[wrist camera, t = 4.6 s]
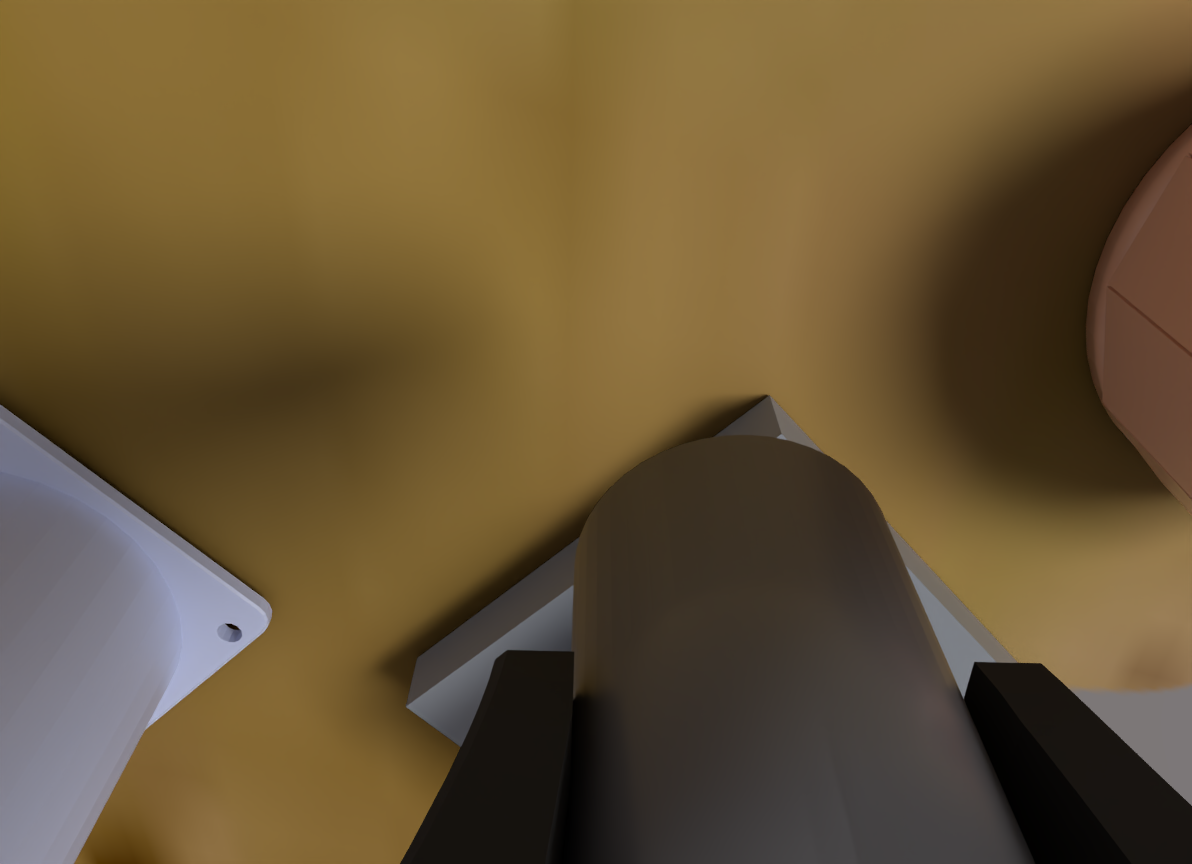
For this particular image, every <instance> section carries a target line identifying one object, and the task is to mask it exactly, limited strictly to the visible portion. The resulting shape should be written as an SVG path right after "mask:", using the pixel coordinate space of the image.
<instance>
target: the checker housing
mask: <svg viewBox="0 0 1192 864" xmlns="http://www.w3.org/2000/svg"><path fill="white" fill-rule="evenodd" d="M725 435H756V436H769V437H774V438H779V439H784V440H789V441H793V442H796V443H799V444H802V445H805V446H808V447H811V448H813V449H815V450H817V451H819V452H821V453H823V452H822V451H821V450H820V449H819V448H818V447H817V446H816V445H815V444H814V443H813V441H812V440H811V439H810V438H809V437H808V436H807V435H806V434H805V433H804V432H803V431H802V430H801V429H800V427H799V426H798V425H797V424H796V423H795V422H794V421H793V420H792V419H791V418H790V417H789V416H788V414H787V413H786V412H785V411H784V410H783V409H782V408H781V407H780V406H779V405H778V404H777V403H776V402H775V400H774V399H773V398H772V397H771V396H770V395H769V396H768V397H766V398H765V399H764V400H762V401H761V402H760V403H758V404H757V405H756V406H754V407H753V408H752V409H750V410H749V411H748V412H746V413H745V414H744V415H742V416H741V417H740V418H738V419H737V420H736V421H734V422H733V423H732V424H730V425H729V426H728V427H726V428H725V429H724V430H722V431H721V432H720V433H718V434H717V435H716V436H714V437H718V436H725ZM823 454H824V453H823ZM886 522H887V521H886ZM887 525H888V527H889V529H890V531H891V534H892V536H893V538H894V541H895V543H896V545H897V548H898V550H899V552H900V554H901V557H902V559H903V561H904V564H905V566H906V568H907V570H908V573H909V575H910V577H911V580H912V582H913V584H914V586H915V589H916V591H917V593H918V596H919V598H920V600H921V602H922V605H923V607H924V609H925V612H926V614H927V616H928V619H929V621H930V623H931V625H932V628H933V630H934V632H935V635H936V637H937V639H938V641H939V644H940V646H941V648H942V651H943V653H944V655H945V657H946V660H947V662H948V664H949V667H950V669H951V671H952V673H953V676H954V678H955V680H956V683H957V685H958V687H959V690H960V692H961V694H962V696H963V699H964V696H965V692H966V689H967V685H968V682H969V678H970V675H971V671H972V668H973V664H974V662H1001V663H1018V662H1017V661H1016V660H1015V659H1014V658H1013V657H1012V656H1011V655H1010V654H1009V653H1008V652H1007V651H1006V649H1005V648H1004V647H1003V646H1002V645H1001V644H1000V643H999V642H998V641H997V640H996V639H995V638H994V637H993V635H992V634H991V633H990V632H989V631H988V630H987V629H986V628H985V627H984V626H983V625H982V624H981V623H980V621H979V620H978V619H977V618H976V617H975V616H974V615H973V614H972V613H971V612H970V611H969V610H968V608H967V607H966V606H965V605H964V604H963V603H962V602H961V601H960V600H959V599H958V598H957V597H956V596H955V594H954V593H953V592H952V591H951V590H950V589H949V588H948V587H947V586H946V585H945V584H944V583H943V582H942V580H941V579H940V578H939V577H938V576H937V575H936V574H935V573H934V572H933V571H932V570H931V569H930V568H929V566H928V565H927V564H926V563H925V562H924V561H923V560H922V559H921V558H920V557H919V556H918V555H917V554H916V552H915V551H914V550H913V549H912V548H911V547H910V546H909V545H908V544H907V543H906V542H905V541H904V540H903V538H902V537H901V536H900V535H899V534H898V533H897V532H896V531H895V530H894V529H893V528H892V527H891V526H890V524H889V523H888V522H887ZM579 538H580V537H579ZM579 538H577V539H576V540H575V541H573V542H572V543H571V544H569V545H568V546H567V547H565V548H564V549H563V550H561V551H560V552H559V553H557V554H556V555H555V556H553V557H552V558H551V559H549V560H548V561H547V562H545V563H544V564H543V565H541V566H540V567H539V568H537V569H536V570H535V571H533V572H532V573H531V574H529V575H528V576H526V577H525V578H524V579H522V580H521V581H520V582H518V583H517V584H516V585H514V586H513V587H512V588H510V589H509V590H508V591H506V592H505V593H504V594H502V595H501V596H500V597H498V598H497V599H496V600H494V601H493V602H492V603H490V604H489V605H488V606H486V607H485V608H484V609H482V610H481V611H480V612H478V613H477V614H476V615H474V616H473V617H472V618H470V619H469V620H468V621H466V622H465V623H463V624H462V625H461V626H459V627H458V628H457V629H455V630H454V631H453V632H451V633H450V634H449V635H447V636H446V637H445V638H443V639H442V640H441V641H439V642H438V643H437V644H435V645H434V646H433V647H431V648H430V649H429V650H427V651H426V652H425V653H423V654H422V655H421V656H419V657H418V658H417V661H416V665H415V670H414V674H413V678H412V682H411V687H410V691H409V695H408V699H407V704H406V707H407V708H408V709H410V710H411V711H412V712H414V713H415V714H416V715H418V716H419V717H421V718H422V719H423V720H425V721H426V722H427V723H429V724H430V725H431V726H433V727H434V728H436V729H437V730H438V731H440V732H441V733H442V734H444V735H445V736H446V737H448V738H449V739H451V740H452V741H453V742H455V743H456V744H457V745H459V746H460V747H461V746H462V744H463V742H464V739H465V737H466V735H467V733H468V731H469V728H470V726H471V724H472V722H473V719H474V717H475V715H476V712H477V710H478V707H479V705H480V702H481V700H482V697H483V694H484V692H485V689H486V686H487V684H488V681H489V678H490V674H491V671H492V668H493V664H494V661H495V659H496V658H497V657H499V656H500V655H501V654H503V653H504V652H505V651H507V650H534V651H571V641H572V614H573V588H574V566H575V556H576V549H577V545H578V542H579Z"/></svg>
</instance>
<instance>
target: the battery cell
mask: <svg viewBox="0 0 1192 864" xmlns="http://www.w3.org/2000/svg"><path fill="white" fill-rule="evenodd" d="M571 651H573V652H574V685H573V719H572V749H571V778H570V795H569V804H568V813H567V822H566V833H565V846H564V858H563V864H1035V861H1034V859H1033V857H1032V854H1031V852H1030V850H1029V848H1028V845H1027V843H1026V841H1025V838H1024V836H1023V834H1022V832H1021V829H1020V827H1019V825H1018V822H1017V820H1016V818H1015V816H1014V813H1013V811H1012V809H1011V806H1010V804H1009V802H1008V799H1007V797H1006V795H1005V793H1004V790H1003V788H1002V786H1001V783H1000V781H999V779H998V777H997V774H996V772H995V770H994V767H993V765H992V763H991V761H990V758H989V756H988V754H987V751H986V749H985V747H984V745H983V742H982V740H981V738H980V735H979V733H978V731H977V728H976V726H975V724H974V722H973V719H972V717H971V715H970V712H969V710H968V708H967V706H966V703H965V701H964V699H963V696H962V694H961V692H960V690H959V687H958V685H957V683H956V680H955V678H954V676H953V673H952V671H951V669H950V667H949V664H948V662H947V660H946V657H945V655H944V653H943V651H942V648H941V646H940V644H939V641H938V639H937V637H936V635H935V632H934V630H933V628H932V625H931V623H930V621H929V619H928V616H927V614H926V612H925V609H924V607H923V605H922V602H921V600H920V598H919V596H918V593H917V591H916V589H915V586H914V584H913V582H912V580H911V577H910V575H909V573H908V570H907V568H906V566H905V564H904V561H903V559H902V557H901V554H900V552H899V550H898V548H897V545H896V543H895V541H894V538H893V536H892V534H891V531H890V529H889V527H888V525H887V522H886V520H885V518H884V515H883V513H882V511H881V509H880V507H879V505H878V504H877V502H876V500H875V499H874V497H873V495H872V494H871V492H870V491H869V490H868V489H867V488H866V486H865V485H864V484H863V483H862V482H861V480H860V479H859V478H857V477H856V476H855V475H854V474H853V473H852V472H851V471H850V470H848V469H847V468H846V467H845V466H843V465H842V464H840V463H839V462H837V461H836V460H834V459H833V458H831V457H830V456H828V455H825V454H823V453H821V452H819V451H817V450H815V449H813V448H811V447H808V446H805V445H802V444H799V443H796V442H793V441H789V440H784V439H779V438H774V437H769V436H756V435H725V436H718V437H711V438H705V439H700V440H696V441H692V442H689V443H685V444H681V445H679V446H676V447H673V448H671V449H668V450H666V451H663V452H661V453H659V454H657V455H655V456H653V457H651V458H649V459H648V460H646V461H644V462H642V463H640V464H639V465H638V466H636V467H635V468H633V469H632V470H630V471H629V472H628V473H626V474H625V475H624V476H622V477H621V478H620V479H619V480H618V481H617V482H616V483H615V484H614V485H613V486H611V487H610V488H609V490H608V491H607V492H606V493H605V494H604V495H603V497H602V498H601V499H600V500H599V501H598V503H597V504H596V506H595V507H594V509H593V510H592V512H591V514H590V515H589V517H588V518H587V521H586V523H585V525H584V527H583V530H582V532H581V534H580V538H579V542H578V545H577V549H576V556H575V566H574V588H573V614H572V641H571Z"/></svg>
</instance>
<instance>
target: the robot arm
mask: <svg viewBox="0 0 1192 864" xmlns="http://www.w3.org/2000/svg"><path fill="white" fill-rule="evenodd" d="M271 618H272V609H271V607H270V604H269V603H268V602H267V601H266V600H265V599H264V598H263V597H261V596H260V595H259V594H257V593H256V592H255V591H253V590H252V589H251V588H249V587H248V586H246V585H245V584H244V583H242V582H241V581H240V580H238V579H237V578H236V577H234V576H233V575H232V574H230V573H229V572H227V571H226V570H225V569H223V568H222V567H221V566H219V565H218V564H217V563H215V562H214V561H212V560H211V559H210V558H208V557H207V556H206V555H204V554H203V553H202V552H200V551H199V550H198V549H196V548H195V547H193V546H192V545H191V544H189V543H188V542H187V541H185V540H184V539H183V538H181V537H180V536H178V535H177V534H176V533H174V532H173V531H172V530H170V529H169V528H168V527H166V526H165V525H164V524H162V523H161V522H159V521H158V520H157V519H155V518H154V517H153V516H151V515H150V514H149V513H147V512H146V511H144V510H143V509H142V508H140V507H139V506H138V505H136V504H135V503H134V502H132V501H131V500H130V499H128V498H127V497H125V496H124V495H123V494H121V493H120V492H119V491H117V490H116V489H115V488H113V487H112V486H110V485H109V484H108V483H106V482H105V481H104V480H102V479H101V478H100V477H98V476H97V475H96V474H94V473H93V472H91V471H90V470H89V469H87V468H86V467H85V466H83V465H82V464H81V463H79V462H78V461H76V460H75V459H74V458H72V457H71V456H70V455H68V454H67V453H66V452H64V451H63V450H62V449H60V448H59V447H57V446H56V445H55V444H53V443H52V442H51V441H49V440H48V439H47V438H45V437H44V436H42V435H41V434H40V433H38V432H37V431H36V430H34V429H33V428H32V427H30V426H29V425H28V424H26V423H25V422H23V421H22V420H21V419H19V418H18V417H17V416H15V415H14V414H13V413H11V412H10V411H8V410H7V409H6V408H4V407H3V406H2V405H0V864H74V863H75V861H76V859H77V857H78V855H79V853H80V851H81V849H82V847H83V846H84V844H85V842H86V840H87V838H88V836H89V834H90V832H91V830H92V829H93V827H94V825H95V823H96V821H97V819H98V817H99V815H100V813H101V812H102V810H103V808H104V806H105V804H106V802H107V800H108V798H109V797H110V795H111V793H112V791H113V789H114V787H115V785H116V783H117V781H118V780H119V778H120V776H121V774H122V772H123V770H124V768H125V766H126V764H127V763H128V761H129V759H130V757H131V755H132V753H133V751H134V749H135V748H136V746H137V744H138V742H139V740H140V738H141V736H142V734H143V732H144V731H145V730H146V729H147V728H148V727H149V726H150V725H152V724H153V723H154V722H155V721H156V720H158V719H159V718H160V717H161V716H163V715H164V714H165V713H166V712H167V711H169V710H170V709H171V708H172V707H173V706H175V705H176V704H177V703H178V702H180V701H181V700H182V699H183V698H184V697H186V696H187V695H188V694H189V693H191V692H192V691H193V690H194V689H195V688H197V687H198V686H199V685H200V684H201V683H203V682H204V681H205V680H206V679H208V678H209V677H210V676H211V675H212V674H214V673H215V672H216V671H217V670H219V669H220V668H221V667H222V666H223V665H225V664H226V663H227V662H228V661H229V660H231V659H232V658H233V657H234V656H236V655H237V654H238V653H239V652H240V651H242V650H243V649H244V648H245V647H246V646H248V645H249V644H250V643H251V642H253V641H254V640H255V639H256V638H257V637H259V636H260V635H261V634H262V633H263V632H264V631H265V630H266V628H267V627H268V625H269V623H270V620H271ZM225 623H227V624H233V625H235V626H237V627H238V628H239V629H240V630H234V629H231V628H229V627H228V626H227V625H226V624H225ZM573 685H574V652H573V651H534V650H507V651H505V652H504V653H503V654H501V655H500V656H499V657H497V658H496V659H495V661H494V664H493V668H492V671H491V674H490V678H489V681H488V684H487V686H486V689H485V692H484V694H483V697H482V700H481V702H480V705H479V707H478V710H477V712H476V715H475V717H474V719H473V722H472V724H471V726H470V728H469V731H468V733H467V735H466V737H465V739H464V742H463V744H462V746H461V748H460V750H459V752H458V754H457V756H456V759H455V761H454V763H453V765H452V767H451V769H450V771H449V773H448V775H447V777H446V779H445V781H444V783H443V785H442V787H441V789H440V790H439V792H438V794H437V796H436V798H435V800H434V802H433V804H432V806H431V808H430V809H429V811H428V813H427V815H426V817H425V819H424V821H423V823H422V825H421V826H420V828H419V830H418V832H417V834H416V836H415V838H414V840H413V842H412V843H411V845H410V847H409V849H408V851H407V852H406V854H405V856H404V858H403V859H402V861H401V863H400V864H563V858H564V846H565V833H566V822H567V813H568V804H569V795H570V778H571V749H572V719H573ZM964 701H965V703H966V706H967V708H968V710H969V712H970V715H971V717H972V719H973V722H974V724H975V726H976V728H977V731H978V733H979V735H980V738H981V740H982V742H983V745H984V747H985V749H986V751H987V754H988V756H989V758H990V761H991V763H992V765H993V767H994V770H995V772H996V774H997V777H998V779H999V781H1000V783H1001V786H1002V788H1003V790H1004V793H1005V795H1006V797H1007V799H1008V802H1009V804H1010V806H1011V809H1012V811H1013V813H1014V816H1015V818H1016V820H1017V822H1018V825H1019V827H1020V829H1021V832H1022V834H1023V836H1024V838H1025V841H1026V843H1027V845H1028V848H1029V850H1030V852H1031V854H1032V857H1033V859H1034V861H1035V864H1192V806H1191V805H1190V804H1189V803H1188V802H1187V801H1186V800H1185V799H1184V798H1183V797H1182V796H1181V795H1180V794H1179V793H1178V792H1176V791H1175V790H1174V789H1173V788H1172V787H1171V786H1170V785H1169V784H1168V783H1167V782H1166V781H1165V780H1164V779H1163V778H1162V777H1161V776H1160V775H1159V774H1157V773H1156V772H1155V771H1154V770H1153V769H1152V768H1151V767H1150V766H1149V765H1148V764H1147V763H1146V762H1145V761H1144V760H1143V759H1142V758H1141V757H1140V756H1139V755H1138V754H1137V753H1135V752H1134V751H1133V750H1132V749H1131V748H1130V747H1129V746H1128V745H1127V744H1126V743H1125V742H1124V741H1123V740H1122V739H1121V738H1120V737H1119V736H1118V735H1117V734H1116V733H1115V732H1114V731H1113V730H1111V729H1110V728H1109V727H1108V726H1107V725H1106V724H1105V723H1104V722H1103V721H1102V720H1101V719H1100V718H1099V717H1098V716H1097V715H1096V714H1095V713H1094V712H1093V711H1091V709H1090V708H1088V707H1087V706H1086V705H1085V704H1084V703H1083V702H1082V701H1081V700H1080V699H1079V698H1078V697H1077V696H1076V695H1075V694H1074V693H1073V692H1072V691H1071V690H1070V689H1068V688H1067V687H1066V686H1065V685H1064V684H1063V683H1062V682H1061V681H1060V680H1059V679H1058V678H1057V677H1056V676H1054V675H1053V674H1052V673H1051V672H1050V671H1049V670H1048V669H1047V668H1046V667H1045V666H1043V665H1042V664H1040V663H1001V662H974V664H973V668H972V671H971V675H970V678H969V682H968V685H967V689H966V692H965V696H964Z"/></svg>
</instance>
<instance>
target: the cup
mask: <svg viewBox="0 0 1192 864" xmlns="http://www.w3.org/2000/svg"><path fill="white" fill-rule="evenodd" d="M1086 347H1087V358H1088V362H1089V367H1090V372H1091V377H1092V381H1093V383H1094V386H1095V388H1096V391H1097V393H1098V396H1099V398H1100V401H1101V403H1102V405H1103V406H1104V408H1105V410H1106V411H1107V413H1108V414H1109V416H1110V418H1111V419H1112V421H1113V422H1114V424H1115V425H1116V426H1117V427H1118V428H1119V429H1120V431H1121V432H1122V433H1123V434H1124V435H1125V436H1126V437H1127V438H1128V440H1129V441H1130V442H1131V443H1132V444H1133V445H1134V446H1135V447H1136V449H1137V450H1138V451H1139V453H1140V454H1141V455H1142V457H1143V458H1144V460H1145V461H1146V462H1147V464H1148V465H1149V466H1150V468H1151V469H1152V470H1153V472H1154V473H1155V474H1156V476H1157V477H1158V478H1159V480H1160V481H1161V482H1162V483H1163V484H1164V486H1165V487H1166V488H1167V489H1168V490H1169V491H1170V492H1171V493H1172V494H1173V496H1174V497H1175V498H1176V499H1177V500H1178V501H1179V502H1180V503H1181V504H1182V506H1183V507H1184V508H1185V509H1186V510H1187V511H1188V512H1189V513H1190V514H1191V515H1192V124H1191V125H1190V126H1189V127H1188V128H1187V129H1186V130H1185V131H1184V132H1183V133H1182V134H1181V135H1180V136H1179V137H1178V138H1177V139H1176V140H1175V141H1174V142H1173V143H1172V144H1171V145H1170V146H1169V147H1168V148H1167V150H1166V151H1165V152H1164V153H1163V154H1162V156H1161V157H1160V158H1159V159H1158V160H1157V162H1156V163H1155V164H1154V165H1153V166H1152V168H1151V169H1150V170H1149V171H1148V172H1147V174H1146V175H1145V176H1144V177H1143V179H1142V180H1141V182H1140V183H1139V185H1138V186H1137V188H1136V189H1135V191H1134V192H1133V194H1132V195H1131V197H1130V198H1129V200H1128V201H1127V203H1126V204H1125V206H1124V207H1123V209H1122V211H1121V213H1120V215H1119V217H1118V219H1117V221H1116V223H1115V225H1114V226H1113V228H1112V230H1111V232H1110V234H1109V236H1108V238H1107V241H1106V243H1105V246H1104V248H1103V251H1102V254H1101V256H1100V259H1099V262H1098V264H1097V267H1096V270H1095V274H1094V278H1093V282H1092V286H1091V290H1090V295H1089V299H1088V308H1087V318H1086Z"/></svg>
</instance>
